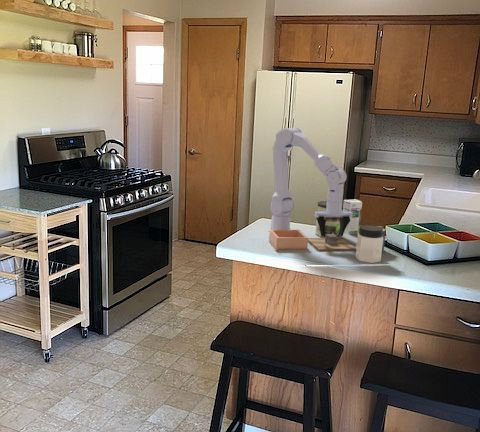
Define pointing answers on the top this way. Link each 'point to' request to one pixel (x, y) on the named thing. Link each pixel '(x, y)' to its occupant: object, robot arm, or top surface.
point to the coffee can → (328, 222)
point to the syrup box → (353, 215)
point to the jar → (369, 243)
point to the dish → (287, 239)
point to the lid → (331, 243)
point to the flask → (383, 238)
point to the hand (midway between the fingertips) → (331, 235)
